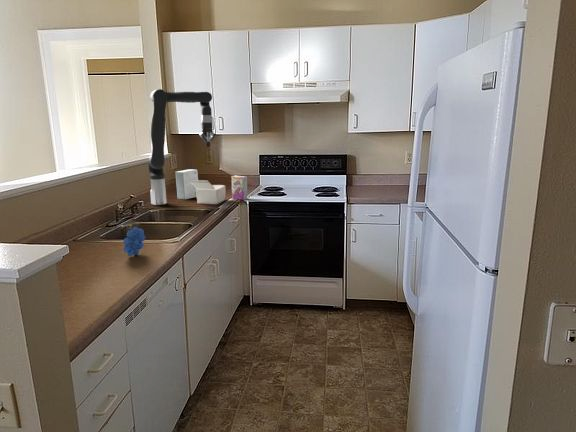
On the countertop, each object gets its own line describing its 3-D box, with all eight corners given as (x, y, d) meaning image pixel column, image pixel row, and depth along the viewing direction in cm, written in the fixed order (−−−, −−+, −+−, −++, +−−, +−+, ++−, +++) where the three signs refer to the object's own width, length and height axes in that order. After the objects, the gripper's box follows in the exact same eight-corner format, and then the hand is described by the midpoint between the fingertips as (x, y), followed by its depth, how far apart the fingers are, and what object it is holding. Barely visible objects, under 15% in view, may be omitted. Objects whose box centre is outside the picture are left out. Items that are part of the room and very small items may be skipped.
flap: (214, 189, 280) (207, 181, 267) (196, 188, 283) (188, 180, 270) (214, 188, 280) (207, 180, 267) (196, 188, 283) (188, 179, 270)
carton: (217, 204, 283) (217, 189, 281) (196, 203, 286) (195, 188, 284) (226, 199, 299) (225, 185, 297) (206, 199, 302) (205, 184, 300)
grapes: (138, 249, 185) (136, 223, 182) (150, 251, 182) (147, 225, 180) (117, 257, 175) (114, 229, 172) (129, 259, 172) (126, 231, 169)
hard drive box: (192, 195, 317) (190, 169, 312) (199, 196, 313) (198, 169, 309) (176, 198, 304) (175, 171, 299) (184, 199, 300) (183, 172, 296)
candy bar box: (231, 198, 303) (230, 176, 299) (236, 197, 307) (235, 175, 304) (243, 200, 297) (242, 177, 293) (248, 199, 301) (247, 176, 298)
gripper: (202, 122, 283) (203, 147, 287) (217, 121, 293) (218, 147, 296) (195, 122, 288) (197, 147, 292) (211, 121, 297) (212, 146, 301)
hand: (208, 147), depth 294 cm, fingers closed
